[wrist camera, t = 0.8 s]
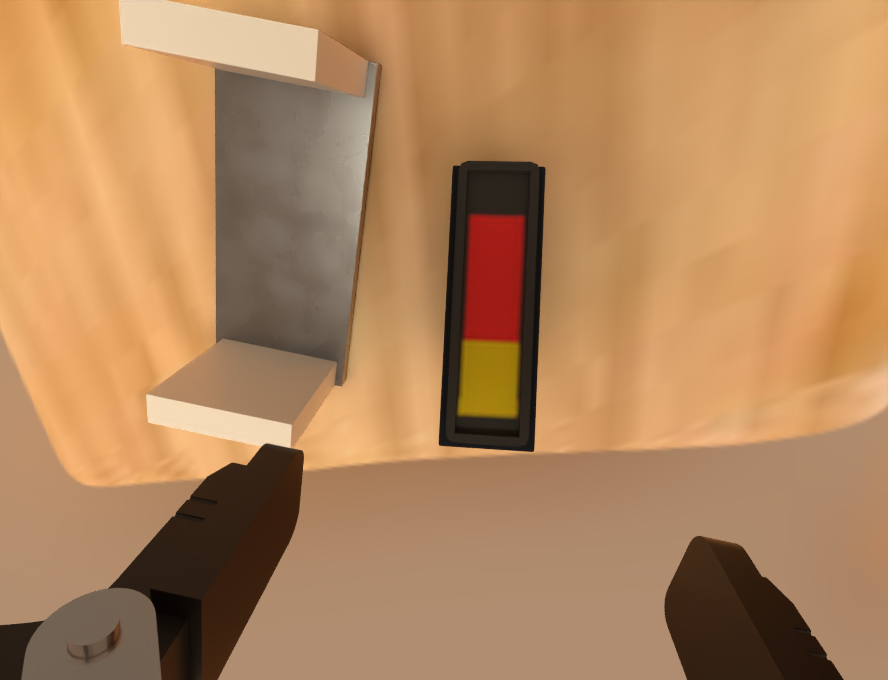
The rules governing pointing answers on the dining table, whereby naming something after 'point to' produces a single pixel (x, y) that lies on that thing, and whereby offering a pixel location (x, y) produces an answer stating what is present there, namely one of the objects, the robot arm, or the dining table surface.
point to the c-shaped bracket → (227, 362)
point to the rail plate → (290, 212)
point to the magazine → (492, 306)
